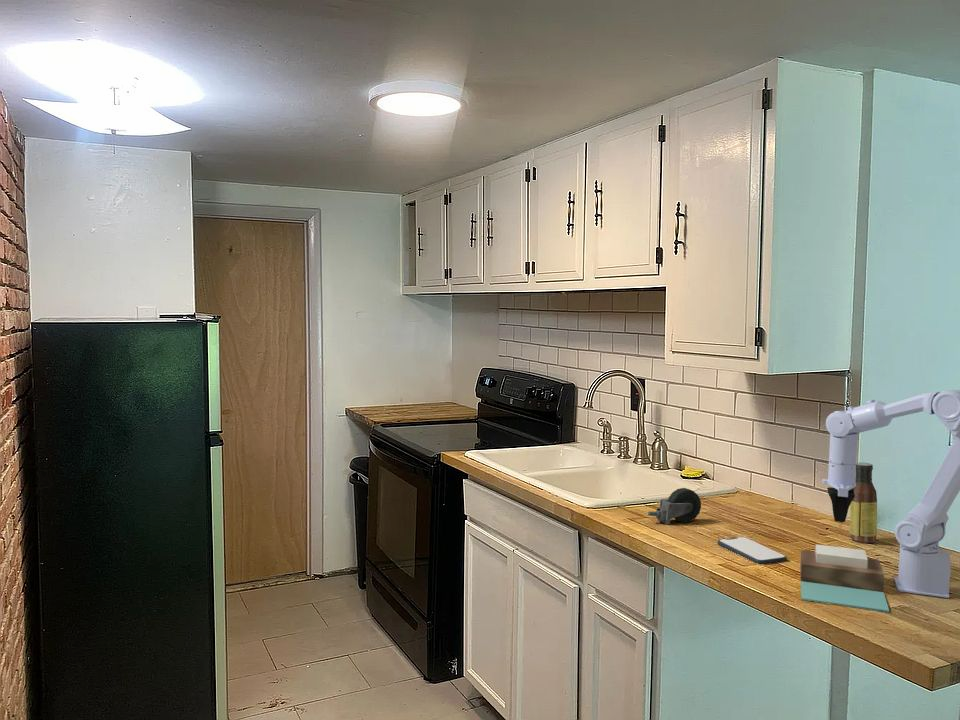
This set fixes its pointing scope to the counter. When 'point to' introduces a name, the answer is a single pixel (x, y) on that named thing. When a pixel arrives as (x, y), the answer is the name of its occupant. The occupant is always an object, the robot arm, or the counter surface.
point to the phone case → (752, 550)
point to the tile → (841, 556)
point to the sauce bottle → (863, 506)
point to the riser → (842, 573)
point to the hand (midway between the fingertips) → (839, 520)
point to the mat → (844, 596)
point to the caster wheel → (678, 506)
